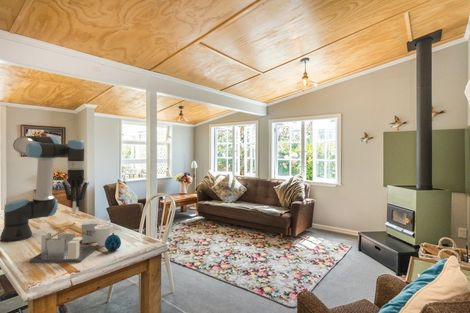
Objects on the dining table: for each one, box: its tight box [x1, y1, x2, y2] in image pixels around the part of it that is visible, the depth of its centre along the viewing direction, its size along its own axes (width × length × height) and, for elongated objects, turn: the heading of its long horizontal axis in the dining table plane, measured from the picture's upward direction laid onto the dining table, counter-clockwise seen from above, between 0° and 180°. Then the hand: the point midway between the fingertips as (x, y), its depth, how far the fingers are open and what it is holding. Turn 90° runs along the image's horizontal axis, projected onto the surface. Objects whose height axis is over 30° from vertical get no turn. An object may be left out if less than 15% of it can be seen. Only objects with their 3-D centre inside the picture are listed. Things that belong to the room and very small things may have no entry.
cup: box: [94, 223, 113, 247], centre depth 152 cm, size 10×10×11 cm
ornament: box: [104, 232, 122, 252], centre depth 144 cm, size 8×5×10 cm, turn 114°
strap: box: [47, 221, 79, 240], centre depth 136 cm, size 18×2×1 cm, turn 93°
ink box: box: [81, 219, 99, 245], centre depth 158 cm, size 9×9×12 cm
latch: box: [68, 236, 83, 259], centre depth 131 cm, size 4×6×9 cm, turn 4°
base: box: [29, 232, 98, 263], centre depth 136 cm, size 24×18×11 cm
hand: (75, 213), depth 136 cm, fingers closed
